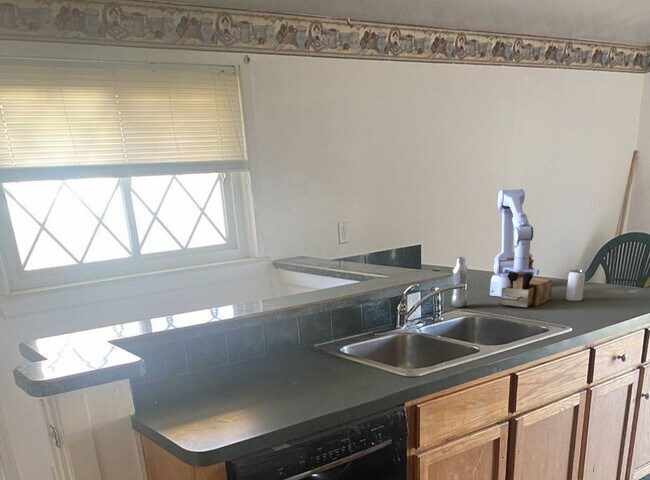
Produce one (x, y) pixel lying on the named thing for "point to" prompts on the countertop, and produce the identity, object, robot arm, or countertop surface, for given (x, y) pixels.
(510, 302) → the drawer
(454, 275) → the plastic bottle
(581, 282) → the can
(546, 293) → the cabinet
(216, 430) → the countertop surface
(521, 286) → the block
